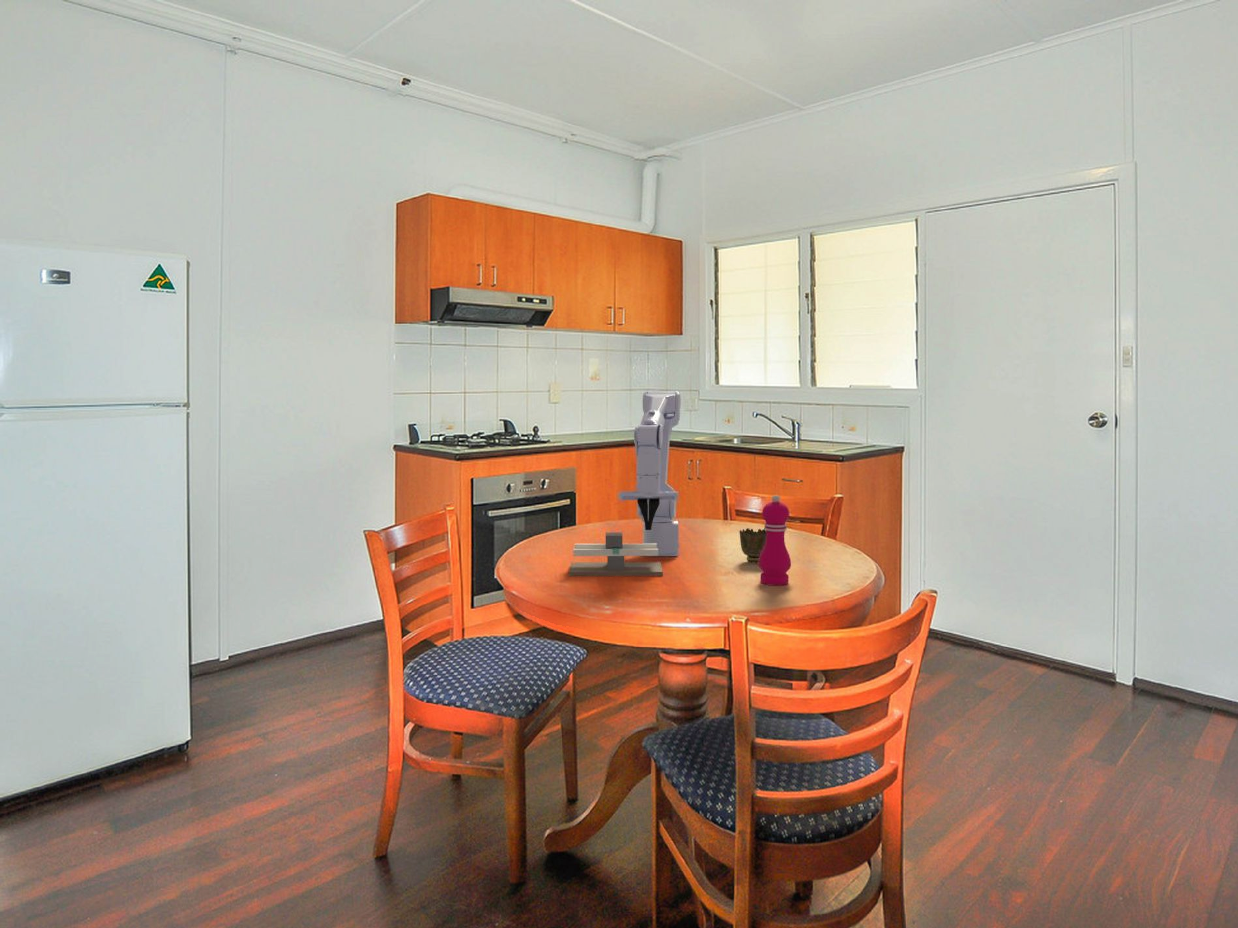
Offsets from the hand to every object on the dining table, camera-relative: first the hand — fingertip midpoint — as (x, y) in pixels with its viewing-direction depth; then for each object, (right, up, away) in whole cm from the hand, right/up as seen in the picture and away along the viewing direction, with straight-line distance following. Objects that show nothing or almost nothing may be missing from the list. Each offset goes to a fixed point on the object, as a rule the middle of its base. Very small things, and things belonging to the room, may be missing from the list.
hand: (648, 529), depth 192 cm
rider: (-8, -5, -4) cm, 10 cm away
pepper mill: (+28, -11, -14) cm, 33 cm away
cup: (+27, -9, +6) cm, 29 cm away
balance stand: (-8, -10, -3) cm, 13 cm away
